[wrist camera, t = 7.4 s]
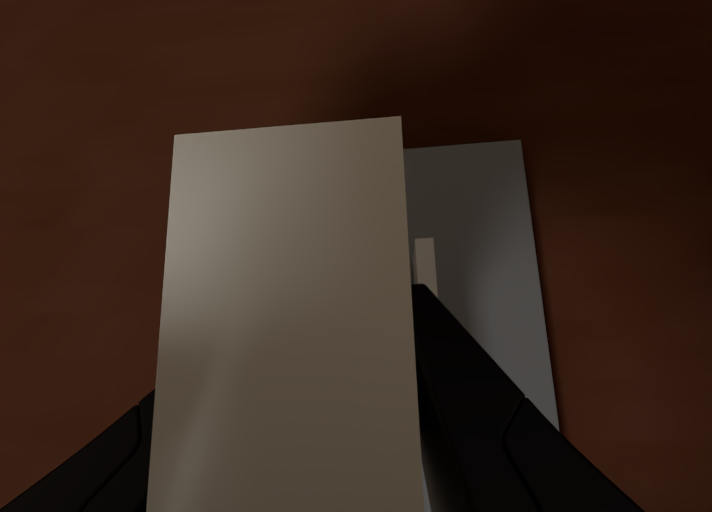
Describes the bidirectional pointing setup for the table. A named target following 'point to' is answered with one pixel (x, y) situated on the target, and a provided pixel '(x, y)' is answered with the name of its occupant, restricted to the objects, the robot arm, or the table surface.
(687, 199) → the table surface
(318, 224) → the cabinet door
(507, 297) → the grey base plate
